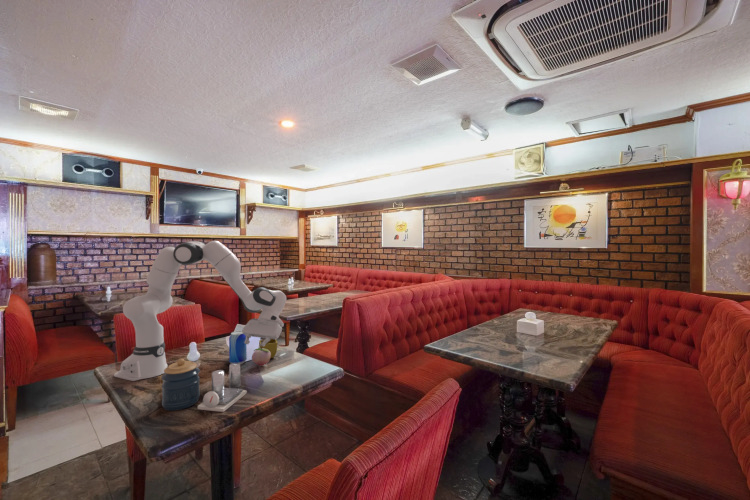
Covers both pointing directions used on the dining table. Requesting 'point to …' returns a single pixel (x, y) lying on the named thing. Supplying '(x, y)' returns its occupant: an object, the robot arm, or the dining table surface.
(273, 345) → the flower pot
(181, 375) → the canister
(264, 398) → the dining table surface
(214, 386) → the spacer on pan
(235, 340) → the beer can
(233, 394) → the grey square plate
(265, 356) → the decorative fruit
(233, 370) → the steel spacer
